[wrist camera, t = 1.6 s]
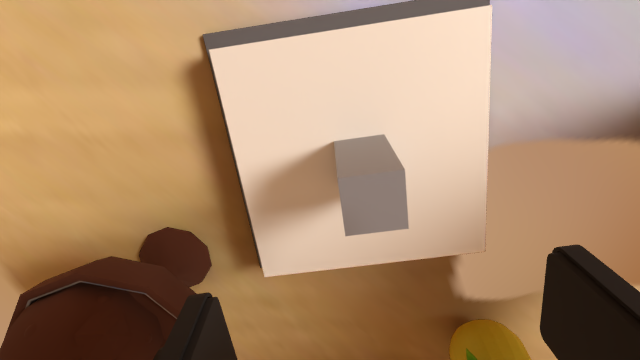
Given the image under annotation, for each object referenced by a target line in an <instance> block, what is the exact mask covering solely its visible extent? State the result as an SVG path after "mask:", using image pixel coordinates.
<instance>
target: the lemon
mask: <svg viewBox="0 0 640 360" xmlns="http://www.w3.org/2000/svg"><path fill="white" fill-rule="evenodd" d="M449 356H450V360H531V358H530V356H529V354H528V353H527V351H526V349H525V347H524V345H523V344H522V342H521V340H520V339H519V338H518V337H517V336H516V335H515V334H514V333H513V332H512V331H510V330H509V329H508V328H507V327H505V326H504V325H502V324H501V323H498V322H495V321H492V320H488V319H478V320H472V321H469V322H467V323H465V324H463V325H461V326H460V327H459V328H457V330H456V331H455V332H454V334H453V336H452V337H451V342H450V347H449Z"/></svg>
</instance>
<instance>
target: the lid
mask: <svg viewBox="0 0 640 360" xmlns="http://www.w3.org/2000/svg"><path fill="white" fill-rule="evenodd" d="M491 29H492V5H489V6H482V7H476V8H470V9H463V10H457V11H451V12H444V13H438V14H432V15H425V16H419V17H413V18H406V19H400V20H394V21H387V22H381V23H375V24H368V25H362V26H356V27H349V28H343V29H337V30H330V31H324V32H318V33H311V34H305V35H299V36H292V37H286V38H280V39H273V40H267V41H261V42H255V43H248V44H242V45H236V46H229V47H223V48H217V49H210V50H209V53H210V57H211V61H212V65H213V69H214V73H215V77H216V81H217V85H218V89H219V93H220V97H221V101H222V105H223V109H224V114H225V118H226V122H227V126H228V130H229V134H230V138H231V142H232V146H233V150H234V154H235V158H236V162H237V166H238V170H239V175H240V179H241V183H242V187H243V191H244V195H245V199H246V203H247V207H248V211H249V215H250V219H251V223H252V227H253V231H254V236H255V240H256V244H257V248H258V252H259V256H260V260H261V264H262V268H263V272H264V276H265V277H270V276H279V275H288V274H296V273H305V272H314V271H322V270H331V269H339V268H348V267H357V266H365V265H374V264H383V263H391V262H400V261H409V260H417V259H426V258H435V257H443V256H452V255H461V254H469V253H478V252H485V244H486V242H485V241H486V208H487V171H488V136H489V101H490V65H491Z"/></svg>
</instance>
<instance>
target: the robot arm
mask: <svg viewBox="0 0 640 360" xmlns="http://www.w3.org/2000/svg"><path fill="white" fill-rule="evenodd" d="M540 332H541V335H542V338H543V340H544V341H545V343H546V344H547V346H548V347H549V348H550V350H551V351H552V352H553V354H554V355H555V356H556V358H557V359H558V360H640V292H639V291H638V290H636V289H635V288H634V287H633V286H631V285H630V284H629V283H628V282H626V281H625V280H624V279H623V278H621V277H620V276H619V275H617V274H616V273H615V272H614V271H613V270H611V269H610V268H609V267H607V266H606V265H605V264H604V263H602V262H601V261H600V260H599V259H597V258H596V257H595V256H594V255H592V254H591V253H590V252H589V251H587V250H586V249H585V248H583V247H582V246H580V245H570V246H562V247H556V248H554V250H553V252H552V253H551V254H549V255H548V257H547V264H546V274H545V285H544V293H543V303H542V312H541V322H540ZM153 360H237V357H236V354H235V350H234V347H233V344H232V341H231V338H230V334H229V331H228V328H227V325H226V322H225V318H224V315H223V312H222V309H221V306H220V302H219V300H218V298H217V297H212V295H211V294H210V293H202V294H194V295H189V296H188V297H187V299H186V301H185V303H184V305H183V307H182V309H181V312H180V314H179V316H178V318H177V320H176V322H175V324H174V326H173V328H172V330H171V332H170V334H169V336H168V339H167V341H166V343H165V345H164V347H162V348H160V349H159V350H158V352H157V353H156V355H155V356H154V358H153Z"/></svg>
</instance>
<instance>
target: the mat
mask: <svg viewBox="0 0 640 360" xmlns="http://www.w3.org/2000/svg"><path fill="white" fill-rule="evenodd" d="M489 5H490V0H414V1H408V2H401V3H395V4H389V5H383V6H377V7H370V8H364V9H358V10H352V11H346V12H339V13H333V14H327V15H321V16H315V17H308V18H302V19H296V20H290V21H283V22H277V23H271V24H265V25H259V26H252V27H246V28H240V29H234V30H228V31H221V32H215V33H209V34H203V38H204V42H205V46H206V50H207V54H208V58H209V62H210V66H211V70H212V74H213V78H214V82H215V86H216V90H217V94H218V98H219V102H220V106H221V110H222V114H223V118H224V122H225V127H226V131H227V135H228V139H229V143H230V147H231V151H232V155H233V159H234V163H235V167H236V171H237V175H238V179H239V183H240V187H241V191H242V195H243V199H244V203H245V207H246V211H247V215H248V219H249V223H250V227H251V231H252V235H253V239H254V243H255V247H256V251H257V255H258V260H259V264H260V268H262V264H261V260H260V256H259V252H258V248H257V244H256V240H255V236H254V231H253V227H252V223H251V219H250V215H249V211H248V207H247V203H246V199H245V195H244V191H243V187H242V183H241V179H240V175H239V170H238V166H237V162H236V158H235V154H234V150H233V146H232V142H231V138H230V134H229V130H228V126H227V122H226V118H225V114H224V109H223V105H222V101H221V97H220V93H219V89H218V85H217V81H216V77H215V73H214V69H213V65H212V61H211V57H210V53H209V50H210V49H217V48H223V47H229V46H236V45H242V44H248V43H255V42H261V41H267V40H273V39H280V38H286V37H292V36H299V35H305V34H311V33H318V32H324V31H330V30H337V29H343V28H349V27H356V26H362V25H368V24H375V23H381V22H387V21H394V20H400V19H406V18H413V17H419V16H425V15H432V14H438V13H444V12H451V11H457V10H463V9H470V8H476V7H482V6H489Z"/></svg>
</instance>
